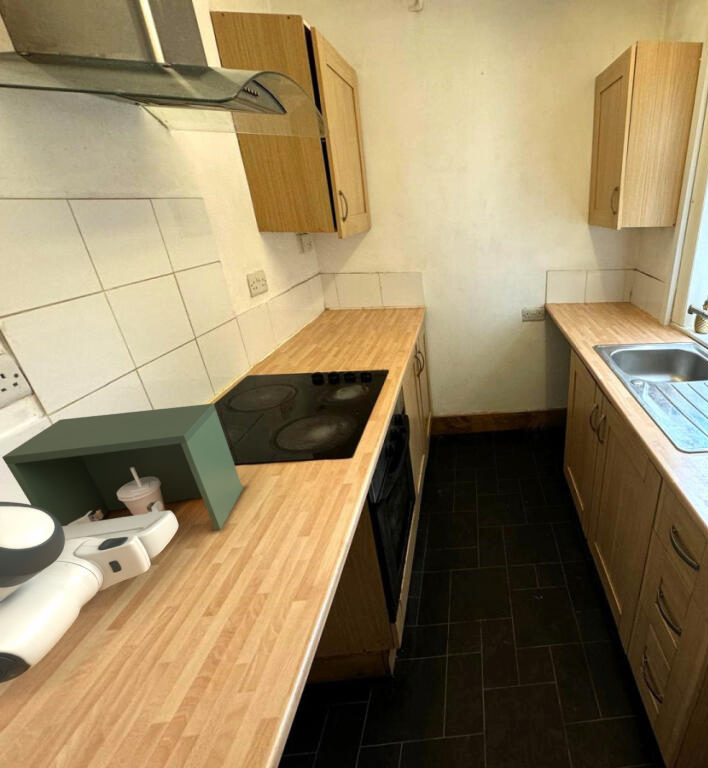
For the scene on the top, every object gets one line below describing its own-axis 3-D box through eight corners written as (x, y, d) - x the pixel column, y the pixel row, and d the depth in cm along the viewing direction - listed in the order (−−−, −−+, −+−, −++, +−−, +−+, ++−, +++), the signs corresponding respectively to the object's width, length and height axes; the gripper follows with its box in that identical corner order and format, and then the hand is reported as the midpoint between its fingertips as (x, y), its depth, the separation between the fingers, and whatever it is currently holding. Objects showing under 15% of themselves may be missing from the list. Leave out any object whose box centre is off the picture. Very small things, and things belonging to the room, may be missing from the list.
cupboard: (62, 555, 76) (1, 457, 67) (106, 508, 88) (60, 419, 79) (220, 529, 82) (184, 435, 73) (242, 488, 93) (213, 403, 84)
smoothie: (155, 539, 79) (126, 479, 74) (126, 535, 80) (96, 476, 75) (184, 516, 85) (160, 459, 80) (157, 512, 86) (131, 456, 80)
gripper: (2, 597, 63) (67, 532, 75) (158, 570, 67) (195, 512, 79) (-21, 566, 60) (51, 504, 72) (143, 540, 64) (184, 485, 77)
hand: (127, 508), depth 76 cm, fingers open, 8 cm apart
